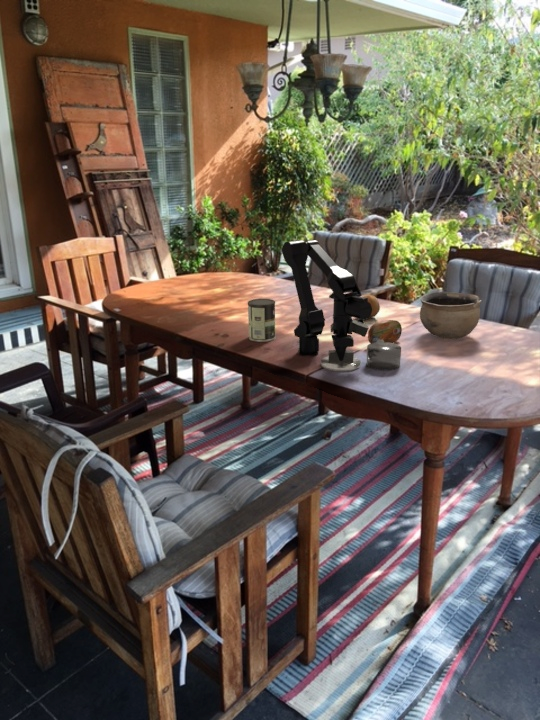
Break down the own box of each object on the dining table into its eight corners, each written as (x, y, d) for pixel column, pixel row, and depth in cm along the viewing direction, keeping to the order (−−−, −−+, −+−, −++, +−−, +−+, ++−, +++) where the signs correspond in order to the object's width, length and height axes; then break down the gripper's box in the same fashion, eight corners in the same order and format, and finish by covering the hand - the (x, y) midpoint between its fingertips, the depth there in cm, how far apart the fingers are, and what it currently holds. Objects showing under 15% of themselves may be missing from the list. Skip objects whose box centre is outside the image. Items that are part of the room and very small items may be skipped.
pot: (368, 370, 195) (369, 352, 193) (362, 354, 210) (363, 337, 208) (402, 370, 194) (404, 352, 192) (394, 354, 209) (395, 337, 207)
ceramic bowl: (476, 347, 215) (480, 306, 210) (413, 342, 222) (416, 302, 217) (478, 330, 234) (482, 293, 229) (421, 326, 242) (424, 289, 237)
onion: (356, 314, 259) (357, 291, 256) (379, 315, 257) (380, 292, 254) (354, 320, 250) (355, 296, 247) (378, 321, 248) (380, 297, 245)
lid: (321, 371, 194) (322, 357, 193) (320, 358, 206) (320, 345, 205) (362, 371, 194) (363, 357, 192) (358, 358, 206) (358, 345, 204)
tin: (372, 348, 215) (373, 326, 213) (365, 346, 218) (366, 324, 215) (401, 341, 223) (403, 319, 221) (395, 339, 226) (396, 317, 223)
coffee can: (273, 333, 234) (272, 297, 230) (277, 341, 225) (277, 304, 220) (246, 334, 233) (245, 299, 228) (250, 342, 223) (249, 305, 219)
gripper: (370, 321, 185) (368, 369, 190) (364, 306, 203) (362, 350, 208) (334, 321, 186) (333, 369, 191) (330, 306, 203) (329, 350, 208)
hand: (340, 359), depth 199 cm, fingers closed on lid, 2 cm apart
